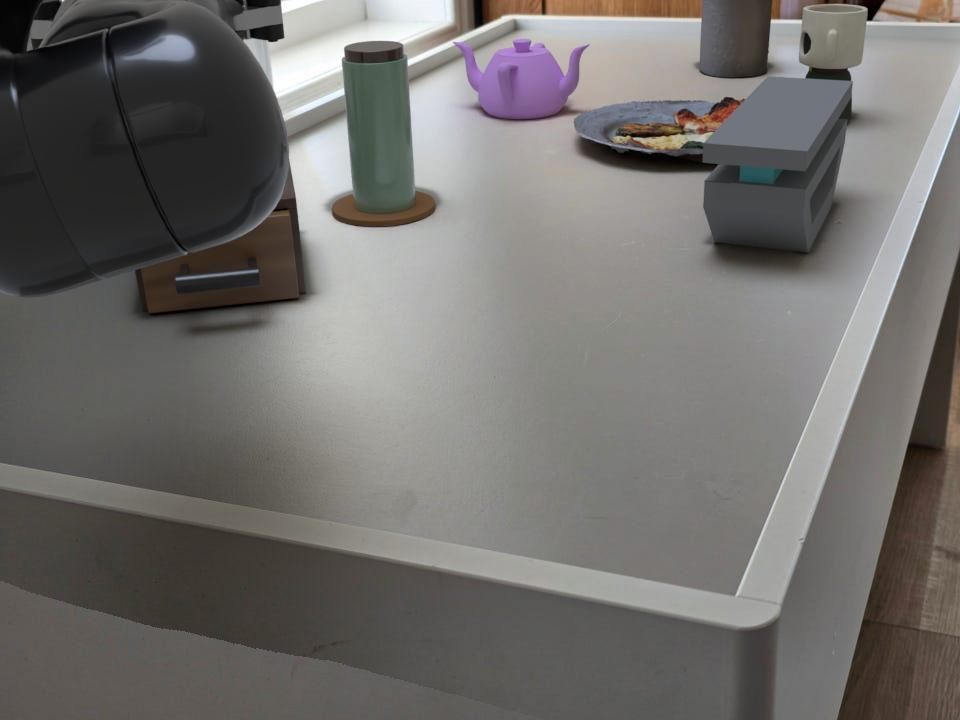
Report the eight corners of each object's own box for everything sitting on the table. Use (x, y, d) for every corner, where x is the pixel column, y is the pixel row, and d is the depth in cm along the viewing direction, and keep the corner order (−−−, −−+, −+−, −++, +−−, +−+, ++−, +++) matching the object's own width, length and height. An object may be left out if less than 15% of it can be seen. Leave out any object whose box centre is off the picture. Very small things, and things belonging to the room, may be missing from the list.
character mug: (795, 109, 140) (805, 0, 134) (855, 111, 138) (868, 1, 132) (790, 131, 131) (800, 15, 125) (854, 133, 129) (868, 16, 123)
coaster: (336, 231, 104) (336, 225, 104) (328, 199, 113) (327, 193, 113) (443, 221, 106) (442, 214, 105) (426, 190, 115) (426, 184, 114)
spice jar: (370, 218, 105) (358, 55, 99) (343, 202, 110) (329, 45, 103) (427, 206, 108) (418, 46, 101) (398, 190, 113) (388, 37, 106)
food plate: (773, 114, 138) (776, 85, 136) (821, 169, 117) (824, 135, 115) (568, 120, 138) (569, 91, 137) (579, 175, 118) (580, 141, 116)
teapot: (590, 114, 141) (591, 42, 137) (486, 127, 137) (484, 53, 133) (552, 95, 151) (552, 27, 147) (454, 106, 147) (451, 37, 143)
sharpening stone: (794, 286, 89) (807, 151, 84) (696, 274, 92) (703, 143, 87) (840, 194, 109) (852, 81, 104) (759, 186, 112) (767, 76, 107)
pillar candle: (778, 68, 162) (788, -42, 155) (748, 81, 155) (756, -34, 148) (717, 61, 167) (723, -45, 160) (685, 73, 160) (690, -37, 154)
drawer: (302, 318, 84) (292, 232, 81) (145, 335, 82) (129, 247, 79) (291, 240, 99) (282, 165, 96) (158, 253, 98) (145, 177, 95)
